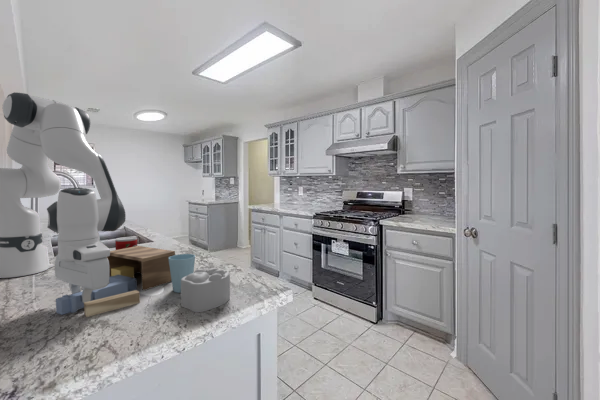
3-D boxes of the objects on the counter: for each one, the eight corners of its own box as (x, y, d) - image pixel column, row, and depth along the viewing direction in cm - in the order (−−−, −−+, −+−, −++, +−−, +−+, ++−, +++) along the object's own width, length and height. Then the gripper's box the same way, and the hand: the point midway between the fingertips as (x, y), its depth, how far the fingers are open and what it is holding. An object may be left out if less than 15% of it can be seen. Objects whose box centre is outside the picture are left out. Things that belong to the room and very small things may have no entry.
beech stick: (84, 315, 72) (83, 302, 72) (136, 301, 81) (136, 290, 81) (86, 318, 71) (86, 305, 70) (139, 303, 79) (139, 292, 79)
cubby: (107, 280, 98) (106, 251, 98) (139, 272, 108) (138, 245, 108) (144, 290, 89) (143, 258, 88) (175, 279, 99) (175, 251, 99)
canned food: (128, 267, 115) (127, 240, 114) (111, 266, 116) (110, 239, 116) (142, 262, 122) (141, 237, 122) (126, 261, 124) (125, 236, 123)
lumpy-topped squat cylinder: (176, 304, 78) (176, 273, 78) (216, 290, 89) (216, 262, 88) (198, 314, 72) (198, 280, 72) (238, 298, 82) (238, 268, 82)
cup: (175, 285, 93) (174, 253, 93) (199, 285, 93) (198, 253, 93) (164, 294, 86) (163, 259, 85) (190, 294, 86) (189, 259, 85)
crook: (43, 307, 76) (43, 294, 76) (118, 285, 93) (118, 274, 93) (63, 315, 71) (63, 301, 71) (138, 290, 88) (138, 279, 88)
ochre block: (111, 281, 98) (111, 268, 98) (124, 277, 102) (124, 265, 102) (120, 284, 95) (120, 270, 95) (134, 280, 99) (133, 267, 99)
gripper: (46, 247, 78) (48, 297, 79) (86, 255, 69) (88, 312, 69) (73, 243, 84) (74, 290, 84) (114, 250, 74) (115, 302, 75)
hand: (81, 300), depth 77 cm, fingers closed on crook, 3 cm apart
